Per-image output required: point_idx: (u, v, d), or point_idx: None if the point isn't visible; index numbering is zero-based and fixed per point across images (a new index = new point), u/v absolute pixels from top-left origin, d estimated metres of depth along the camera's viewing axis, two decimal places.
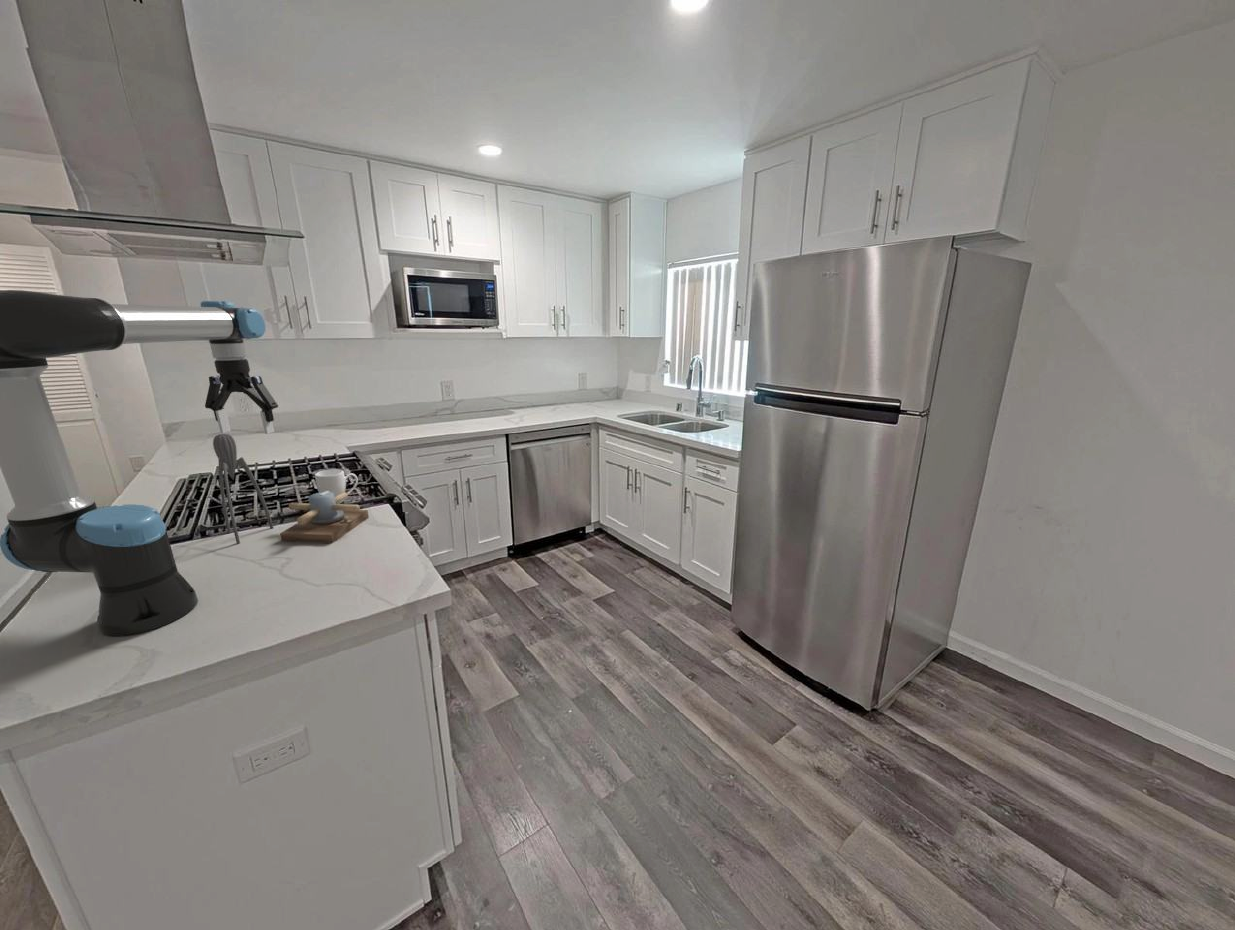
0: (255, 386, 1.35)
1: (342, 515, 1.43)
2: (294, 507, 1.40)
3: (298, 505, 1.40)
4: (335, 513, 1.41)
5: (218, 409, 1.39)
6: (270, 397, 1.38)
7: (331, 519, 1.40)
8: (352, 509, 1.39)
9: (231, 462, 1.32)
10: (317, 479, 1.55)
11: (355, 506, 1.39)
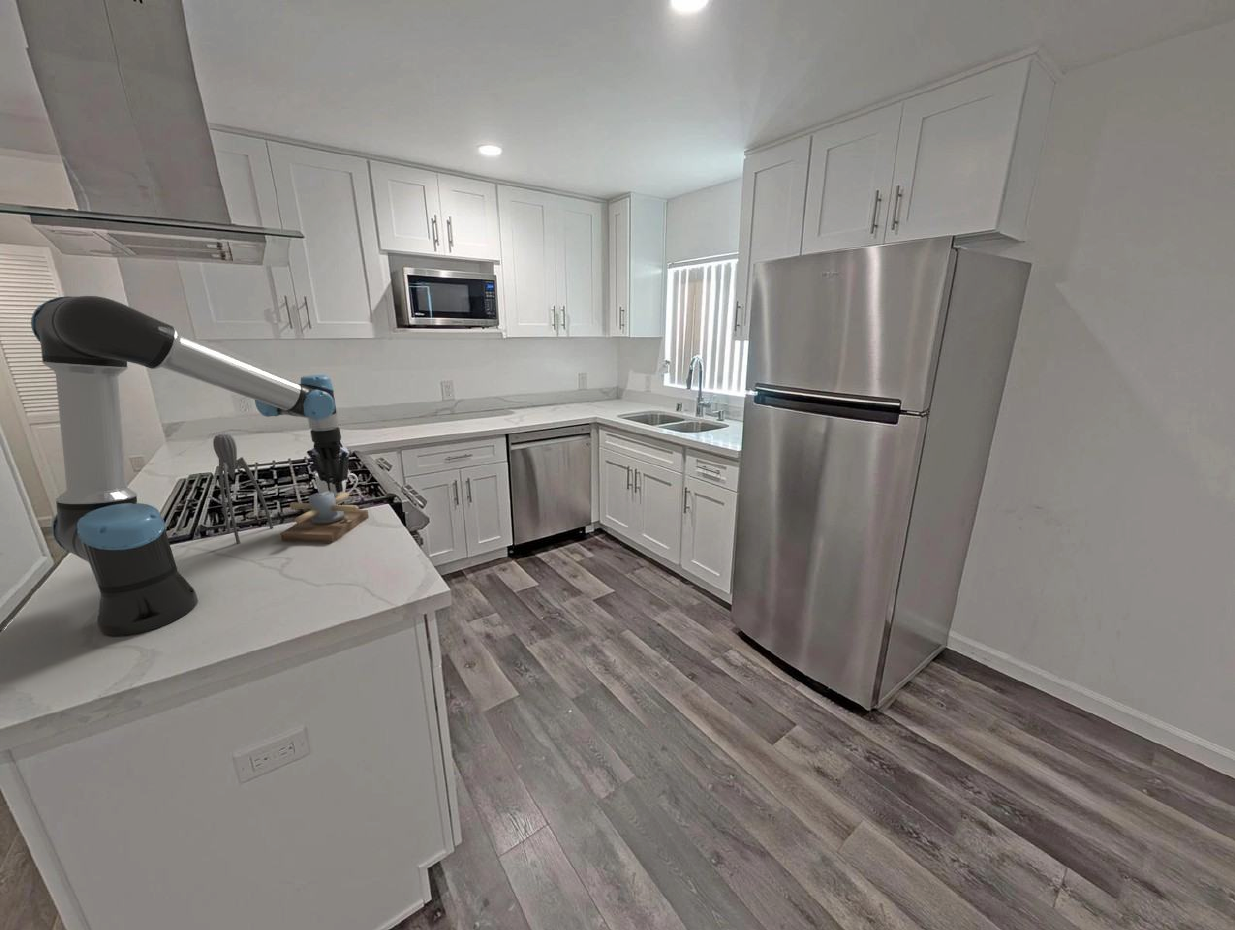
0: (342, 459, 1.43)
1: (342, 515, 1.43)
2: (295, 506, 1.41)
3: (299, 504, 1.41)
4: (335, 513, 1.41)
5: (331, 480, 1.47)
6: (346, 471, 1.46)
7: (330, 519, 1.39)
8: (351, 510, 1.39)
9: (231, 462, 1.32)
10: (317, 479, 1.55)
11: (354, 507, 1.39)
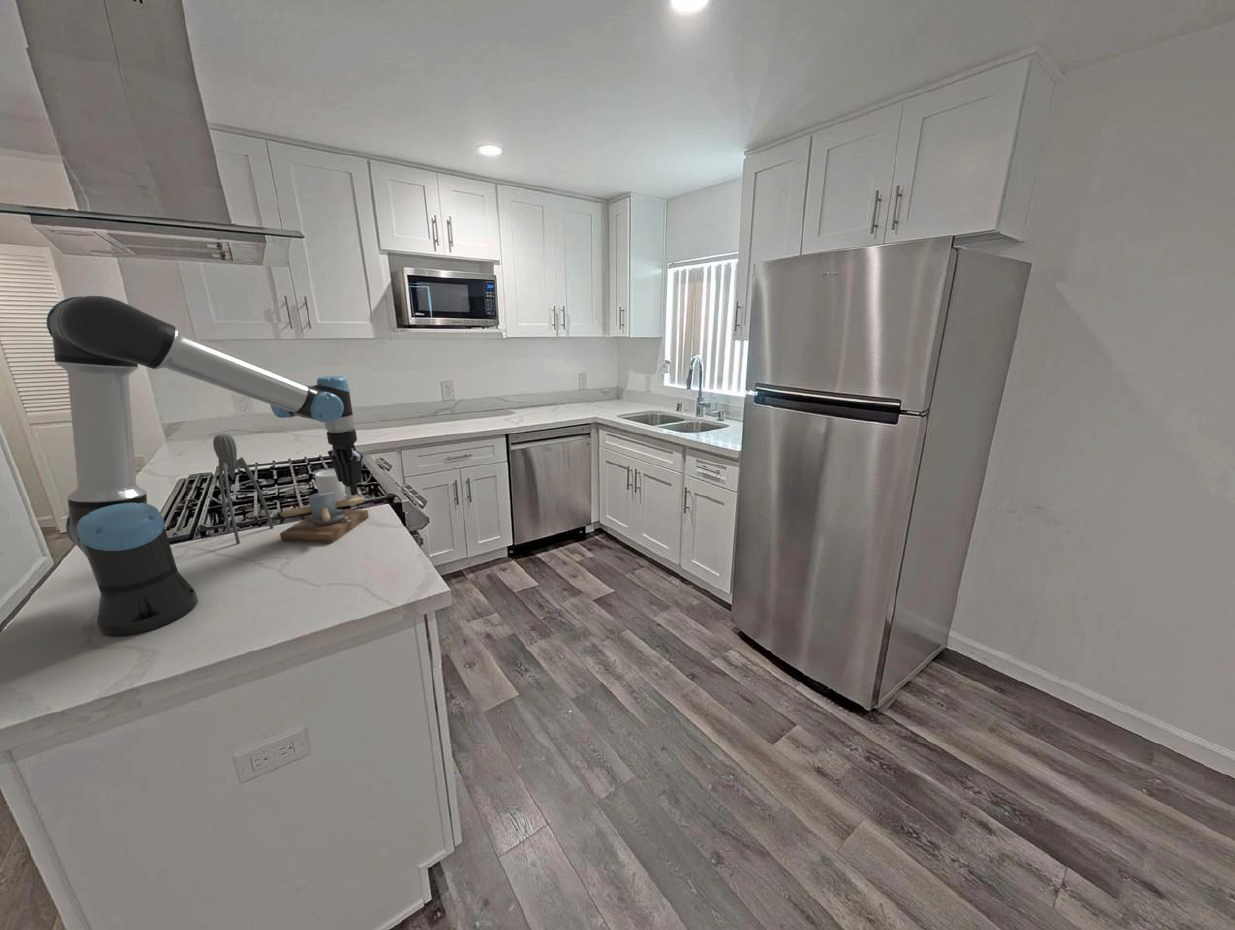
0: (352, 463, 1.40)
1: (333, 520, 1.39)
2: None
3: None
4: None
5: (347, 482, 1.45)
6: (359, 474, 1.43)
7: (318, 521, 1.38)
8: (323, 518, 1.33)
9: (231, 462, 1.32)
10: (317, 479, 1.55)
11: (324, 516, 1.32)
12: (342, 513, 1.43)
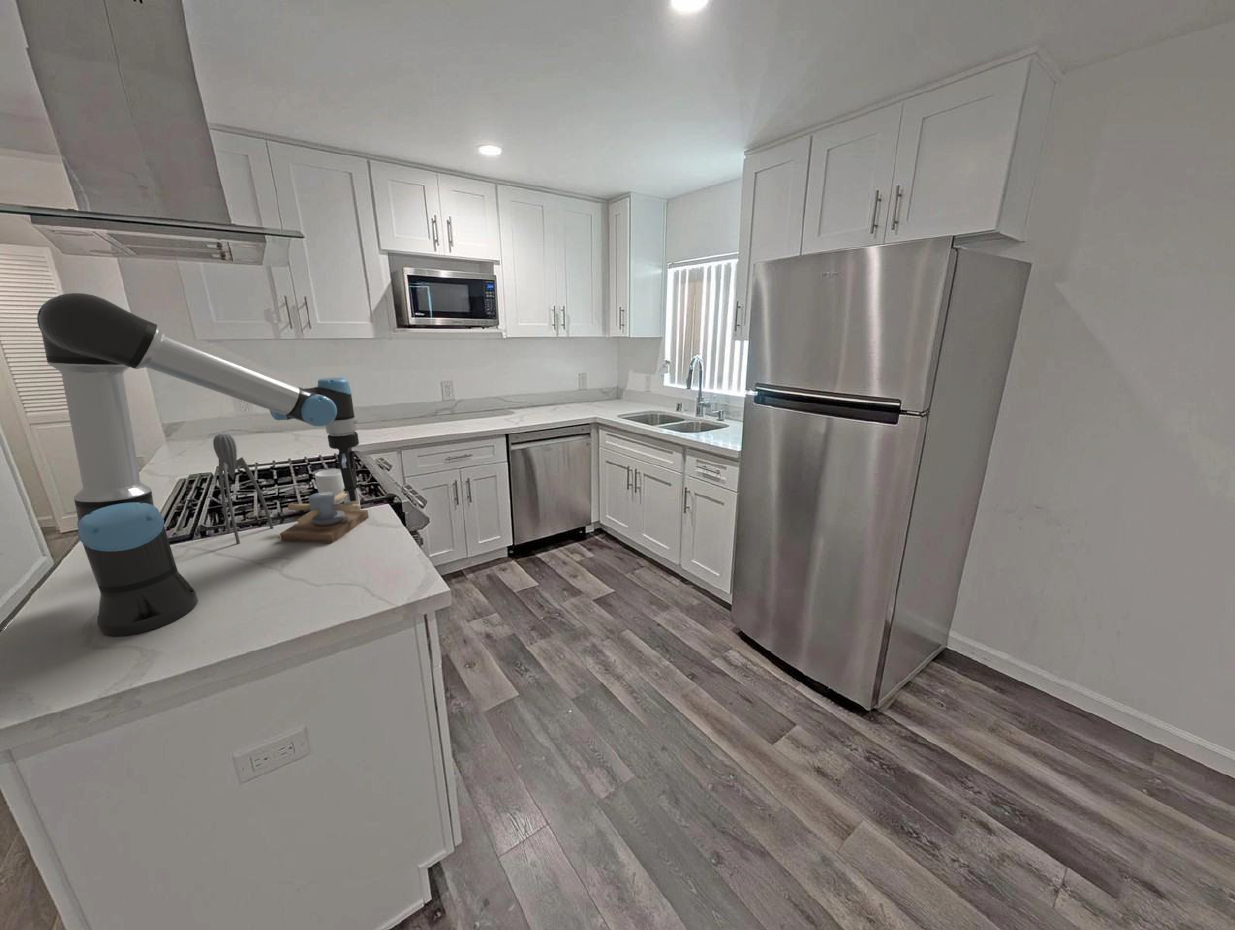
0: None
1: (323, 523, 1.38)
2: None
3: None
4: (318, 517, 1.38)
5: None
6: (349, 482, 1.36)
7: (312, 520, 1.39)
8: None
9: (231, 462, 1.32)
10: (317, 479, 1.55)
11: None
12: (338, 517, 1.40)
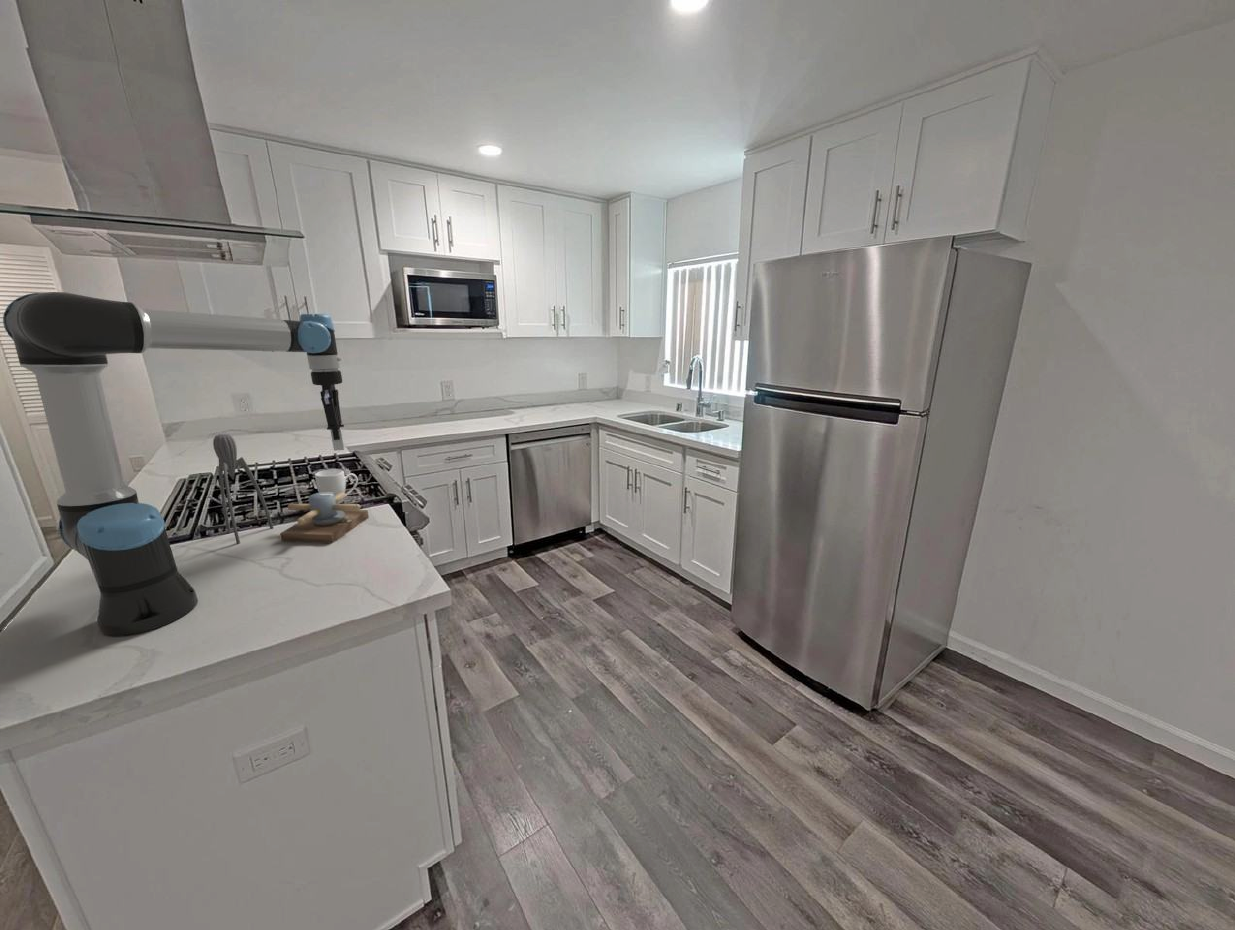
0: None
1: (323, 523, 1.38)
2: None
3: None
4: (318, 517, 1.38)
5: None
6: (333, 419, 1.37)
7: (312, 520, 1.39)
8: None
9: (231, 462, 1.32)
10: (317, 479, 1.55)
11: None
12: (338, 517, 1.40)
